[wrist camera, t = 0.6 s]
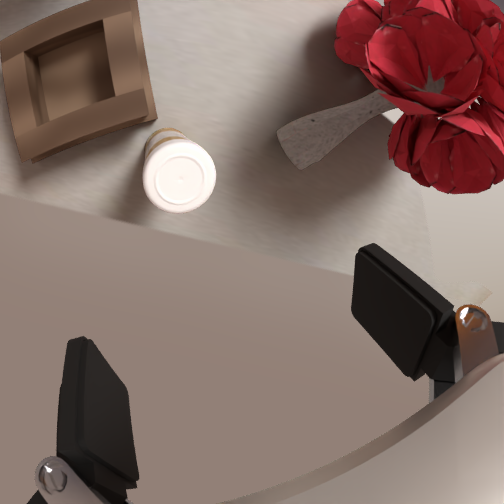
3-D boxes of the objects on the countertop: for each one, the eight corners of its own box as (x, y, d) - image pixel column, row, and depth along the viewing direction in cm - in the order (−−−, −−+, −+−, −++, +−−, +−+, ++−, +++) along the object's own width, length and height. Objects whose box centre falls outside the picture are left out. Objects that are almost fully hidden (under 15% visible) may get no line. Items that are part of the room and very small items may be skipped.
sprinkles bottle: (175, 176, 30) (196, 226, 19) (136, 160, 28) (130, 199, 17) (196, 137, 29) (231, 162, 18) (157, 119, 26) (163, 129, 15)
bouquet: (332, 175, 44) (490, 100, 29) (350, 302, 27) (593, 186, 12) (245, 59, 33) (429, -31, 18) (188, 107, 16) (547, -43, 1)
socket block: (14, 46, 16) (-7, 39, 12) (136, -1, 19) (135, -19, 15) (36, 161, 24) (18, 172, 19) (157, 118, 26) (159, 120, 22)
